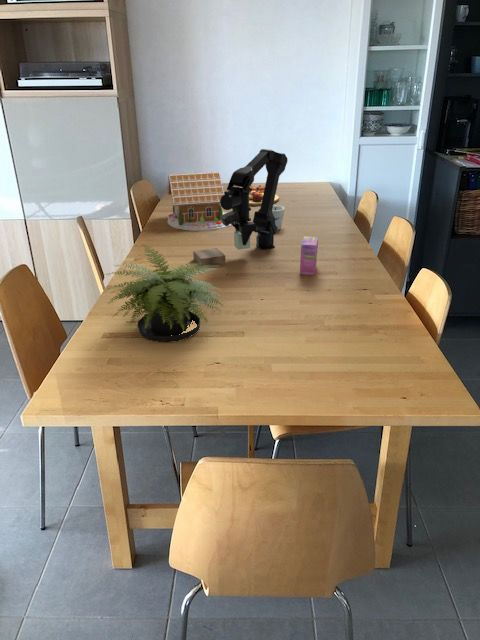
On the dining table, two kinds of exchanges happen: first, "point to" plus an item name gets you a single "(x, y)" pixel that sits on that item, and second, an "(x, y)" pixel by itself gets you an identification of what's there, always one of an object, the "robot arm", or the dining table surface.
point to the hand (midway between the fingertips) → (242, 243)
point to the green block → (240, 241)
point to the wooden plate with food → (258, 195)
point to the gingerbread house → (196, 201)
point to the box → (308, 255)
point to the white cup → (278, 215)
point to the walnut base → (209, 257)
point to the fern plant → (166, 299)
